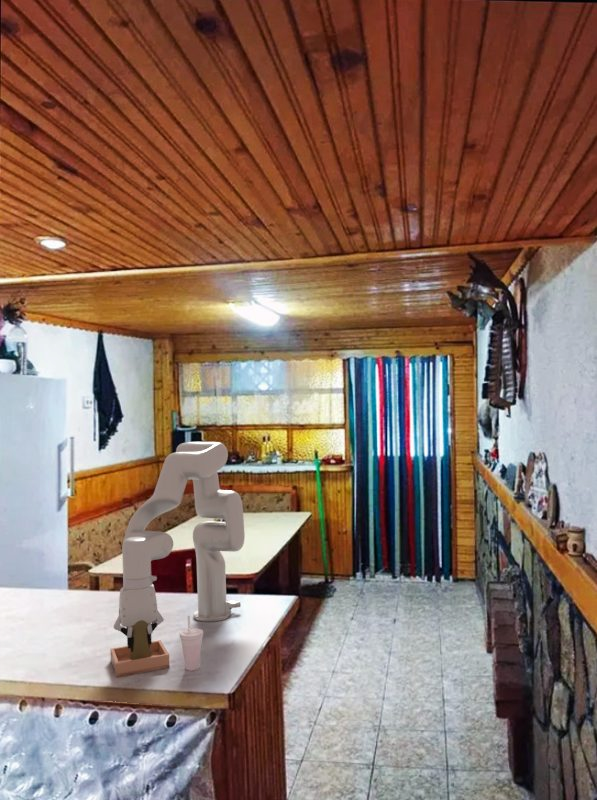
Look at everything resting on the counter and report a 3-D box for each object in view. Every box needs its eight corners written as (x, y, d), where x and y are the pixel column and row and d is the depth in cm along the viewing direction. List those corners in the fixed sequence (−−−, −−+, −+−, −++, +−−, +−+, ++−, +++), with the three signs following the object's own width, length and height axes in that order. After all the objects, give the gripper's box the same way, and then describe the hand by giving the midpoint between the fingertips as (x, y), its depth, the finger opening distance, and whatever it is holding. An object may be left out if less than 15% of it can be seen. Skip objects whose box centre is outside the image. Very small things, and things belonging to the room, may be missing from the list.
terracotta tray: (160, 652, 188) (160, 640, 188) (169, 667, 177) (169, 654, 177) (110, 661, 182) (110, 648, 182) (116, 677, 171) (116, 664, 171)
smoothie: (181, 663, 179) (180, 612, 179) (205, 662, 180) (203, 611, 180) (179, 673, 173) (177, 620, 173) (203, 671, 173) (202, 619, 173)
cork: (146, 661, 176) (144, 620, 176) (125, 660, 177) (124, 619, 177) (155, 652, 182) (154, 613, 182) (135, 651, 183) (133, 612, 183)
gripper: (164, 575, 186) (166, 639, 186) (104, 583, 180) (107, 649, 180) (170, 581, 179) (172, 648, 179) (108, 590, 173) (110, 659, 173)
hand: (139, 648), depth 180 cm, fingers closed on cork, 3 cm apart
